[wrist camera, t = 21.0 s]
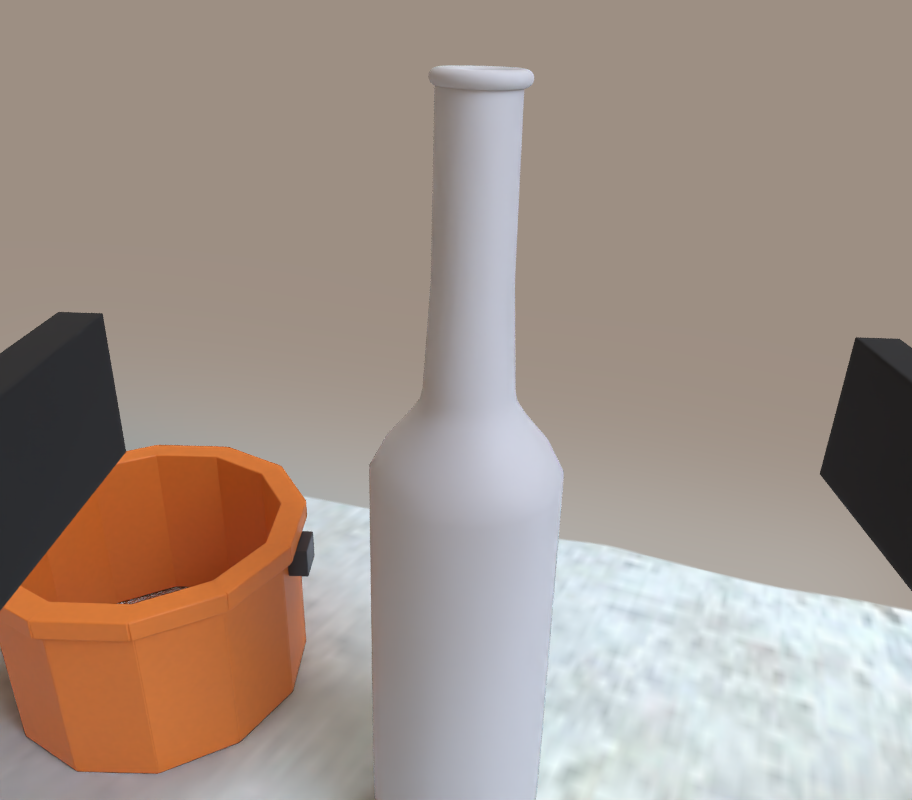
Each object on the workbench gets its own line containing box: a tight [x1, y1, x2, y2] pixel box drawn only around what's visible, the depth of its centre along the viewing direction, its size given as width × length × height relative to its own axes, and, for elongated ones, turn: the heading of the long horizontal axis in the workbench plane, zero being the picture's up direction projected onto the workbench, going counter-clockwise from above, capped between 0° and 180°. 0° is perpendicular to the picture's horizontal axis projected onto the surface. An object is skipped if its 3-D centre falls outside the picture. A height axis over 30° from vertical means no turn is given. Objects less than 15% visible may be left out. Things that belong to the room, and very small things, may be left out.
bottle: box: [369, 66, 564, 800], centre depth 27 cm, size 7×7×28 cm
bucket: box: [0, 445, 314, 774], centre depth 38 cm, size 15×14×8 cm
